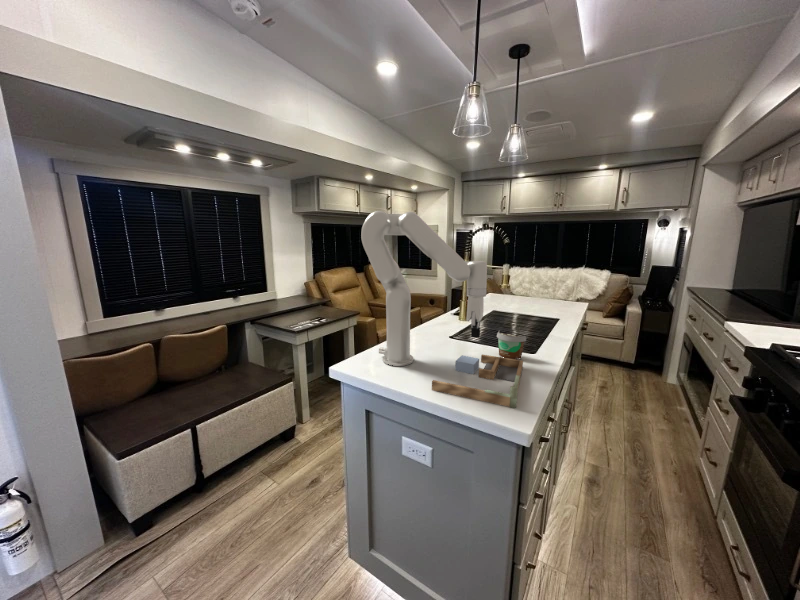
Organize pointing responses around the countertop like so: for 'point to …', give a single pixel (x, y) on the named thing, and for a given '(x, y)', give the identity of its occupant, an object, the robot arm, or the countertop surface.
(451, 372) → the countertop surface
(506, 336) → the food container
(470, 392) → the box
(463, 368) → the block
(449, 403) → the countertop surface
